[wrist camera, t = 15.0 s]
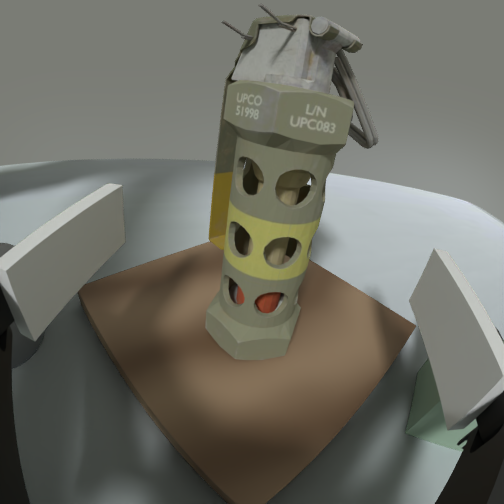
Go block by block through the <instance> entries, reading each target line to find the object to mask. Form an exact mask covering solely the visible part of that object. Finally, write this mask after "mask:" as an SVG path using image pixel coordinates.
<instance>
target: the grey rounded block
mask: <svg viewBox="0 0 504 504" xmlns="http://www.w3.org/2000/svg"><path fill="white" fill-rule="evenodd" d="M13 247H14V246H13V245H11V244H7V243H0V257H2V256H3V255H4V254H5V253H7V252H8V251H9V250H10V249H12V248H13ZM10 327H11V329H12V334H13V336H12V369H13V368H16V367H18V366H20V365H21V364H23V363H24V362H26V361H27V360H28V359H29V358H30V357H31V356H32V355H33V354H34V353H35V352H36V351H37V349H38V347H39V346H40V344H41V342H42V339H43V336H44V331H43V332H42V334H41V335H40V336H39V337H38V339H37V340H36V341H33V340H31V339H29V338H28V337H26V336H24V335H22V334H21V333H20V331H19V329H18V327H17V325H16V323H15V321H13V323H12V324H11V325H10Z"/></svg>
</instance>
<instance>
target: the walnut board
mask: <svg viewBox="0 0 504 504" xmlns="http://www.w3.org/2000/svg"><path fill="white" fill-rule="evenodd" d="M223 254H224V250H221V249H220V248H218V247H217V246H216V245H214V244H213V243H212V242H211V241H210V242H207V243H204V244H201V245H198V246H195V247H192V248H189V249H186V250H183V251H180V252H177V253H174V254H171V255H168V256H165V257H162V258H159V259H156V260H153V261H150V262H148V263H145V264H142V265H139V266H136V267H133V268H130V269H127V270H124V271H122V272H119V273H116V274H113V275H110V276H107V277H104V278H102V279H99V280H96V281H93V282H90V283H88V284H85V285H83V287H82V288H81V289H80V290H79V291H78V295H79V299H80V302H81V305H82V307H83V309H84V311H85V313H86V315H87V317H88V319H89V321H90V323H91V325H92V327H93V328H94V330H95V332H96V334H97V336H98V338H99V339H100V341H101V343H102V345H103V346H104V348H105V350H106V351H107V353H108V355H109V356H110V358H111V360H112V361H113V363H114V365H115V366H116V368H117V369H118V371H119V373H120V374H121V376H122V377H123V379H124V380H125V382H126V383H127V385H128V386H129V388H130V389H131V391H132V392H133V394H134V395H135V396H136V398H137V399H138V401H139V402H140V404H141V405H142V406H143V408H144V409H145V410H146V412H147V413H148V415H149V416H150V417H151V419H152V420H153V421H154V422H155V424H156V425H157V426H158V428H159V429H160V430H161V431H162V433H163V434H164V435H165V436H166V438H167V439H168V440H169V441H170V443H171V444H172V445H173V446H174V447H175V448H176V450H177V451H178V452H179V453H180V454H181V455H182V457H183V458H184V459H185V460H186V461H187V462H188V463H189V464H190V466H191V467H192V468H193V469H194V470H195V471H196V472H197V473H198V474H199V475H200V476H201V477H202V478H203V479H204V481H205V482H206V483H207V484H208V485H209V486H210V487H211V488H212V489H213V490H214V491H215V492H216V493H217V494H218V495H220V496H221V497H222V498H223V499H224V500H225V501H226V502H227V503H228V504H265V503H267V502H268V501H269V500H270V499H271V498H273V497H274V496H275V495H276V494H277V493H278V492H279V491H281V490H282V489H283V488H284V487H285V486H286V485H287V484H288V483H290V482H291V481H292V480H293V479H294V478H295V477H296V476H297V475H298V474H299V473H300V472H301V471H302V470H303V469H304V468H305V467H306V466H307V465H308V464H309V463H310V462H311V461H312V460H313V459H314V458H315V457H316V456H317V455H318V454H319V453H320V452H321V451H322V450H323V449H324V448H325V447H326V446H327V445H328V444H329V442H330V441H331V440H332V439H333V438H334V437H335V436H336V435H337V434H338V432H339V431H340V430H341V429H342V428H343V427H344V426H345V424H346V423H347V422H348V421H349V420H350V419H351V417H352V416H353V415H354V414H355V412H356V411H357V410H358V409H359V408H360V406H361V405H362V404H363V402H364V401H365V400H366V399H367V397H368V396H369V395H370V393H371V392H372V391H373V389H374V388H375V387H376V385H377V384H378V383H379V381H380V380H381V379H382V377H383V376H384V374H385V373H386V372H387V370H388V369H389V367H390V366H391V364H392V363H393V361H394V360H395V358H396V357H397V355H398V354H399V352H400V351H401V349H402V348H403V346H404V345H405V343H406V342H407V340H408V338H409V337H410V335H411V333H412V332H413V330H414V329H415V327H416V325H414V324H413V323H411V322H409V321H408V320H406V319H405V318H403V317H402V316H400V315H398V314H397V313H395V312H394V311H392V310H390V309H389V308H387V307H386V306H384V305H383V304H381V303H379V302H378V301H376V300H374V299H373V298H371V297H370V296H368V295H366V294H365V293H363V292H362V291H360V290H358V289H357V288H355V287H354V286H352V285H350V284H349V283H347V282H345V281H344V280H342V279H340V278H339V277H337V276H336V275H334V274H332V273H331V272H329V271H327V270H326V269H324V268H322V267H321V266H319V265H317V264H316V263H314V262H312V261H311V260H309V262H308V266H307V269H306V273H305V276H304V279H303V281H302V283H301V285H300V286H299V290H298V299H297V303H298V305H299V306H300V307H301V309H300V312H299V315H298V318H297V321H296V324H295V327H294V330H293V333H292V336H291V339H290V342H289V345H288V348H287V351H286V354H285V356H280V357H275V358H270V359H264V360H239V359H234V358H233V357H232V356H231V355H230V354H228V353H227V352H226V351H225V350H224V349H223V348H221V347H220V346H219V345H218V343H217V342H216V341H215V340H214V338H213V337H212V336H211V335H210V333H209V332H208V331H207V329H206V328H205V326H206V310H207V309H208V307H209V305H210V303H211V302H212V300H213V299H214V297H215V296H216V294H217V293H218V292H219V290H220V283H221V275H222V264H223ZM247 254H248V251H247V253H246V254H245V255H247ZM289 260H290V258H289V257H288V256H286V255H285V258H284V262H283V264H285V263H286V262H288V261H289Z"/></svg>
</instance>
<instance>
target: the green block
mask: <svg viewBox="0 0 504 504" xmlns="http://www.w3.org/2000/svg"><path fill="white" fill-rule="evenodd" d="M503 341H504V340H503ZM503 343H504V342H503ZM477 426H478V425H477V421H476V419H475V420H474V421H472V422H471V423H470V424H469V425H468V426H467V427H465V428H464V429H459V430H449V431H447V426H446V422H445V417H444V413H443V409H442V404H441V400H440V396H439V392H438V389H437V385H436V381H435V378H434V374H433V370H432V367H431V364H430V360H429V358H428V360H427V361H426V362H425V364H424V365H423V366H422V368H421V369H420V370H419V371H418V373H417V379H416V385H415V391H414V396H413V401H412V406H411V410H410V415H409V419H408V424H407V428H406V432H405V433H406V434H408V435H411V436H414V437H417V438H420V439H423V440H426V441H429V442H432V443H435V444H438V445H441V446H445V447H448V448H451V449H455V450H458V451H462V452H463V449H462V447H463V446H464V445H466V443H467V441H464V442H463V443H462V444H460V445H459V446H458V445H457V443H458V442H459V440H461V439H462V438H463V437H464V436H466V435H467V434H468V433H469V432H471V431H472V430H473V429H474V428H475V427H477Z"/></svg>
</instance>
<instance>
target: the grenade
mask: <svg viewBox="0 0 504 504" xmlns="http://www.w3.org/2000/svg"><path fill="white" fill-rule="evenodd" d="M259 6H260V7H261V8H262V9H263V10H264V11H266V12H267V13H268V14H269V15H270V16H271V17H262V18H257V19H255V20H254V21H253V23H252V25H251V27H250V29H249V32H248V34H247V35H246V34H244V33H242V32H241V31H239V30H238V29H236V28H235V27H233V26H232V25H230V24H229V23H227V22H226V21H222V23H223V24H225V25H226V26H228V27H230V28H231V29H233V30H234V31H236V32H237V33H239V34H240V35H242V36H245V37H242V38H243V39H245V41H244V43H243V45H242V47H241V49H240V53H239V55H238V57H237V59H236V60H235V67H234V68H233V70H232V71H231V72H230V74H229V75H228V76H227V78H226V80H225V88H224V95H223V103H222V112H221V120H220V128H219V136H218V144H217V154H216V163H215V173H214V183H213V193H212V204H211V216H210V228H209V240H210V241H211V242H212V243H213V244H214V245H216V246H217V247H218V248H220V249H221V250H224V254H223V264H222V275H221V283H220V290H219V292H218V293H217V294H216V296H215V297H214V299H213V300H212V302H211V303H210V305H209V307H208V309H207V310H206V326H205V328H206V329H207V331H208V332H209V333H210V335H211V336H212V337H213V338H214V340H215V341H216V342H217V343H218V345H219V346H220V347H221V348H223V349H224V350H225V351H226V352H227V353H228V354H230V355H231V356H232V357H233V358H234V359H239V360H264V359H270V358H275V357H280V356H285V354H286V351H287V348H288V345H289V342H290V339H291V336H292V333H293V330H294V327H295V324H296V321H297V318H298V315H299V312H300V309H301V307H300V306H299V305H298V303H297V299H298V290H299V286H300V285H301V283H302V281H303V279H304V276H305V273H306V269H307V266H308V262H309V259H310V254H311V243H312V237H313V235H314V234H315V232H316V230H317V228H318V226H319V222H320V218H321V214H322V210H323V206H324V202H325V184H326V178H327V176H328V174H329V173H330V171H331V170H332V168H333V165H334V160H335V156H336V153H337V152H338V151H339V150H340V149H341V148H343V147H344V146H345V145H346V141H347V136H348V135H349V136H351V137H352V138H353V139H354V140H355V141H356V142H358V143H359V144H360V145H361V146H362V147H364V148H367V149H368V148H371V147H372V146H373V145H376V144H377V142H378V134H377V132H376V128H375V126H374V123H373V120H372V117H371V115H370V112H369V110H368V107H367V104H366V102H365V99H364V97H363V94H362V92H361V90H360V87H359V85H358V82H357V80H356V78H355V75H354V73H353V71H352V69H351V66H350V64H349V62H348V60H347V58H346V56H345V54H344V52H343V50H345V51H347V52H349V53H350V52H351V53H355V52H357V51H358V50H360V49H361V47H362V45H363V44H361V43H360V39H359V38H358V37H357V36H355V35H354V34H352V33H350V32H349V31H347V30H345V29H344V28H342V27H340V26H339V25H337V24H335V23H333V22H332V21H330V20H328V19H326V18H324V17H317V18H315V17H313V16H311V15H284V16H275V15H274V14H273V13H272V12H271V11H269V10H268V9H267V8H266V7H265V6H264V5H263V4H259ZM342 49H343V50H342ZM336 54H337V56H338V57H335V56H336ZM334 64H335V66H336V68H337V69H336V68H335V67H334ZM337 70H338V71H337ZM331 80H332V82H333V83H334V85H335V86H336V88H337V90H338V93H339V95H340V97H338V96H334V95H331V94H329V92H330V85H331ZM353 108H354V109H355V111H356V113H357V116H358V119H359V121H360V124H361V127H362V129H363V132H364V133H363V132H362V131H361V130H360V129H358V128H357V127H356V126H355V125H353V124H352V123H351V121H352V117H353ZM246 158H247V159H246ZM245 161H246V165H245V168H244V170H243V167H244V164H245ZM310 178H311V186H310V185H307V182H308V181H309V179H310ZM247 251H248V254H247V255H245V254H246V253H247ZM285 255H286V256H288V257H289V258H290V260H289V261H288V262H286V263H285V264H283V262H284V258H285Z"/></svg>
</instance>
